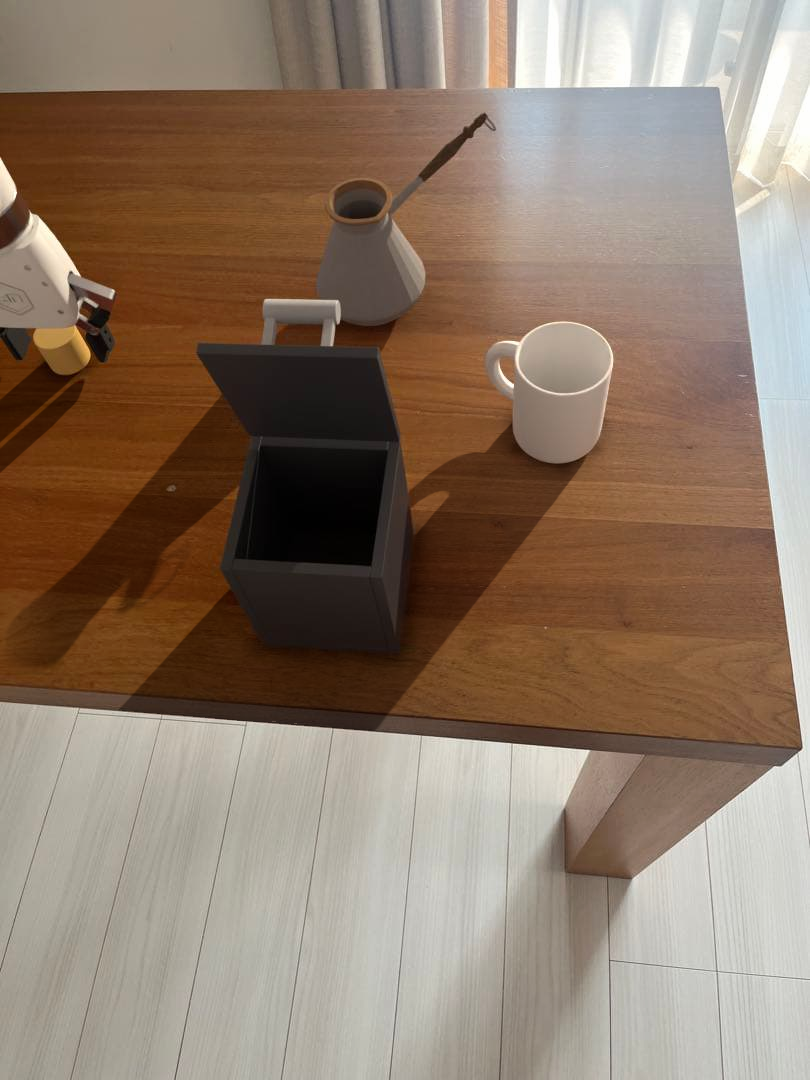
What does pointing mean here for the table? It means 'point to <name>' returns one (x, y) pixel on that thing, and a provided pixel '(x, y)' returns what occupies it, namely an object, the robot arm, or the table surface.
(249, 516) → the dark grey storage bin
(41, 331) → the cylinder
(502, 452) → the table surface
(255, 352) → the chamber lid
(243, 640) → the table surface
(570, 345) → the mug
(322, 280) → the coffee pot
